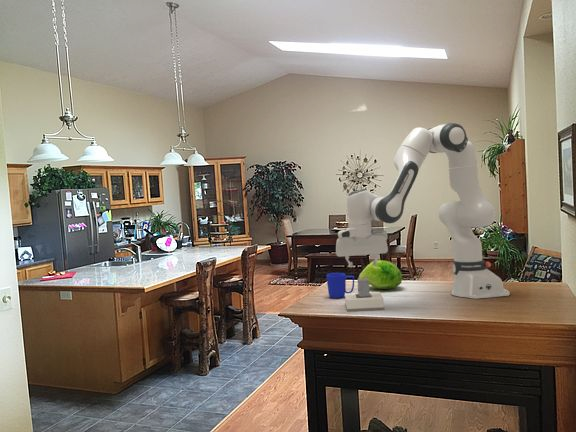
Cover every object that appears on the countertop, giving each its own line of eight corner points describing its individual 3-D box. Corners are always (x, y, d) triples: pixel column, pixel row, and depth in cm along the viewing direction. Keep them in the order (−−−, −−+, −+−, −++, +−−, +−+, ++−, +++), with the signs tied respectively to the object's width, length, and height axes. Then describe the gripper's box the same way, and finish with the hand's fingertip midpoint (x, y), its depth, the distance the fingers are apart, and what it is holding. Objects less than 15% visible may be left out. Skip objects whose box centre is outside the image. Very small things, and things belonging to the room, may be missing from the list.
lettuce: (366, 284, 244) (365, 256, 243) (407, 286, 234) (406, 257, 233) (354, 291, 230) (353, 261, 229) (397, 293, 220) (396, 262, 220)
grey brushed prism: (368, 302, 202) (367, 278, 201) (370, 305, 197) (368, 280, 196) (358, 303, 202) (357, 278, 202) (359, 306, 197) (358, 280, 197)
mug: (354, 299, 215) (353, 275, 214) (326, 299, 217) (325, 276, 217) (355, 294, 223) (354, 272, 222) (328, 295, 225) (327, 273, 225)
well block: (380, 302, 205) (379, 291, 205) (384, 309, 193) (383, 298, 193) (345, 304, 206) (344, 293, 206) (347, 311, 194) (346, 300, 194)
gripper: (385, 228, 201) (388, 262, 201) (334, 232, 202) (336, 266, 203) (388, 229, 194) (390, 265, 195) (334, 234, 196) (337, 269, 197)
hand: (362, 266), depth 199 cm, fingers open, 8 cm apart
